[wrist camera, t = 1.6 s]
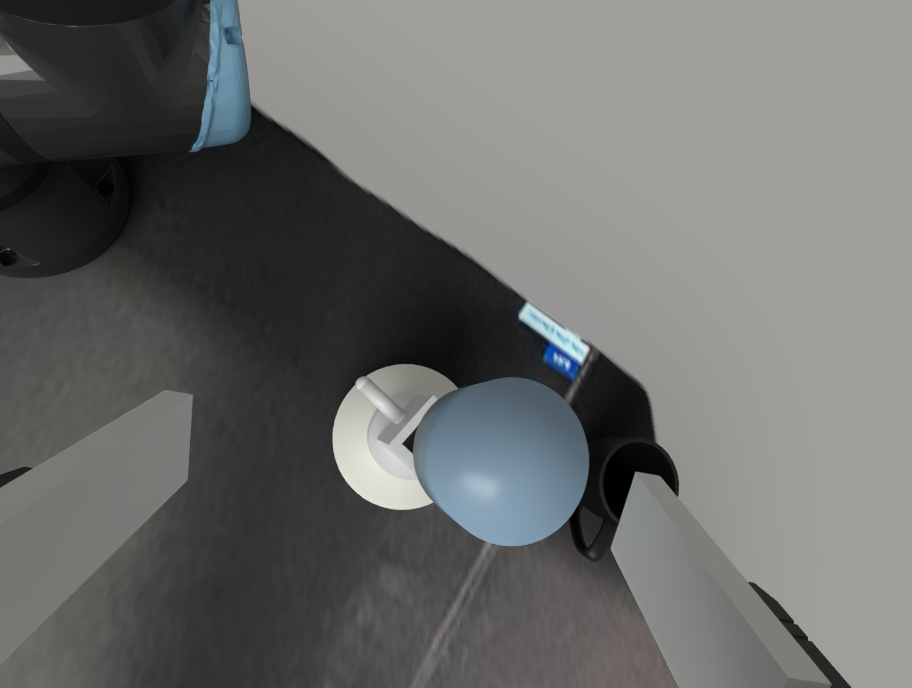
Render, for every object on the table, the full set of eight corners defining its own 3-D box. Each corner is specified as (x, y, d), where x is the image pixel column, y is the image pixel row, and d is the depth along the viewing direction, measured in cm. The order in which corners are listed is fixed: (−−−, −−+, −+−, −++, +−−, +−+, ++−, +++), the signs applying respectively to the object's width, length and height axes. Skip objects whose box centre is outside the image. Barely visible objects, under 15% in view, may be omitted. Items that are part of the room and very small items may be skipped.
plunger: (368, 445, 26) (398, 468, 14) (429, 378, 27) (507, 344, 15) (434, 505, 26) (523, 582, 14) (490, 436, 28) (617, 451, 15)
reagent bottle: (308, 436, 45) (284, 451, 24) (388, 353, 48) (429, 303, 27) (393, 513, 46) (442, 592, 25) (465, 426, 49) (564, 432, 28)
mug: (516, 510, 49) (558, 531, 40) (578, 418, 52) (630, 418, 43) (575, 558, 50) (629, 590, 41) (632, 464, 53) (694, 474, 44)
